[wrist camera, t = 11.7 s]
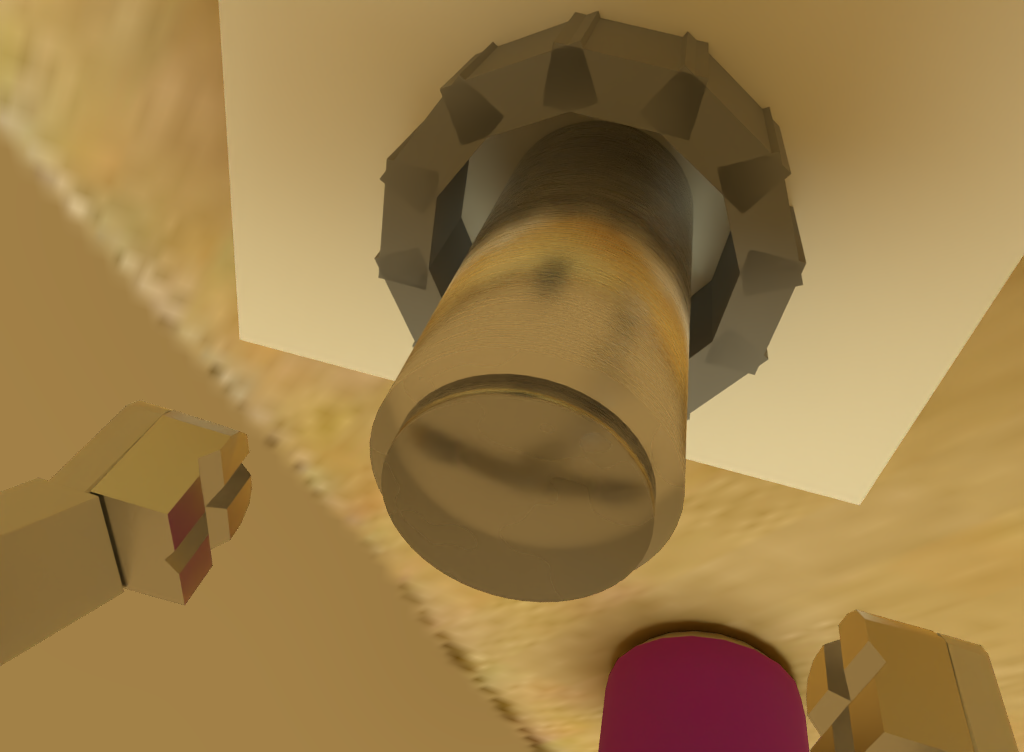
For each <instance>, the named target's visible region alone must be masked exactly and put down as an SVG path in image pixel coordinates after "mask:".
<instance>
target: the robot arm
mask: <svg viewBox="0 0 1024 752" xmlns="http://www.w3.org/2000/svg"><path fill="white" fill-rule="evenodd" d="M248 453H249V447H248V439H247V434H245V433H242V432H240V431H237V430H234V429H231V428H228V427H224V426H222V425H219V424H215V423H212V422H209V421H206V420H203V419H200V418H196V417H193V416H190V415H187V414H184V413H181V412H178V411H174V410H170V409H167V408H164V407H161V406H158V405H154V404H151V403H148V402H145V401H141V400H138V401H136V402H134V403H131V404H128V405H127V406H125V407H124V408H123V409H122V410H121V411H120V412H119V413H118V414H117V415H116V416H115V417H114V418H113V419H112V420H111V421H110V422H109V423H108V424H107V425H106V426H105V427H104V428H103V429H102V430H101V431H99V433H97V434H96V435H95V436H94V437H93V438H92V439H91V440H90V441H89V442H88V443H87V444H86V445H85V446H84V447H83V448H82V449H81V450H80V451H79V452H78V453H77V454H76V455H75V456H74V457H73V458H72V459H71V460H70V461H69V462H68V463H67V464H65V466H63V467H62V468H61V469H60V470H59V471H58V472H57V473H56V474H55V475H54V476H53V477H52V478H51V479H50V480H49V481H48V480H45V479H41V478H36V479H33V480H31V481H28V482H25V483H23V484H20V485H17V486H14V487H12V488H9V489H6V490H4V491H1V492H0V666H1V665H3V664H5V663H6V662H8V661H10V660H11V659H13V658H15V657H16V656H18V655H20V654H21V653H23V652H24V651H26V650H28V649H30V648H31V647H33V646H35V645H36V644H38V643H39V642H41V641H43V640H45V639H46V638H48V637H50V636H51V635H53V634H55V633H56V632H58V631H60V630H61V629H63V628H65V627H66V626H68V625H70V624H71V623H73V622H75V621H76V620H78V619H80V618H81V617H83V616H85V615H86V614H88V613H90V612H91V611H93V610H95V609H97V608H98V607H100V606H102V605H103V604H105V603H107V602H108V601H110V600H112V599H113V598H115V597H116V596H118V595H120V594H122V593H123V592H124V589H123V588H125V589H129V590H132V591H135V592H139V593H143V594H146V595H150V596H153V597H156V598H160V599H164V600H167V601H171V602H174V603H178V604H181V605H185V604H186V603H187V602H188V600H189V599H190V597H191V596H192V594H193V593H194V592H195V590H196V589H197V587H198V586H199V584H200V583H201V581H202V580H203V578H204V577H205V576H206V574H207V573H208V572H209V570H210V569H211V567H212V566H213V565H212V557H211V549H213V548H215V547H217V546H219V545H221V544H223V543H225V542H227V541H229V540H231V538H232V537H233V535H234V534H235V532H236V531H237V529H238V527H239V526H240V524H241V523H242V520H243V518H244V516H245V513H246V511H247V508H248V506H249V503H250V497H251V490H252V481H251V475H250V473H249V472H248V471H247V469H246V468H245V467H244V466H243V464H242V461H243V460H244V459H245V457H246V456H247V455H248ZM838 626H839V634H840V640H837V641H834V642H831V643H828V644H825V645H823V646H822V648H821V649H820V651H819V652H818V654H817V655H816V657H815V658H814V660H813V663H812V666H811V670H810V673H809V676H808V680H807V693H806V701H807V716H808V717H809V719H810V720H811V722H812V723H813V725H814V726H815V728H816V729H817V731H818V732H819V734H820V735H821V737H820V739H819V740H818V741H817V742H816V744H815V745H814V746H813V747H812V748H811V750H810V752H1019V751H1018V748H1017V744H1016V741H1015V738H1014V735H1013V732H1012V728H1011V725H1010V722H1009V719H1008V716H1007V712H1006V709H1005V706H1004V703H1003V700H1002V696H1001V693H1000V690H999V687H998V684H997V680H996V677H995V674H994V671H993V668H992V664H991V661H990V658H989V655H988V653H987V652H986V651H985V650H984V648H983V647H982V646H981V645H978V644H975V643H971V642H968V641H964V640H961V639H957V638H954V637H950V636H947V635H943V634H940V633H935V632H933V631H931V630H928V629H924V628H920V627H917V626H913V625H910V624H906V623H903V622H899V621H895V620H892V619H888V618H885V617H881V616H877V615H874V614H870V613H867V612H863V611H859V610H854V611H852V612H850V613H848V614H847V615H846V616H845V617H844V619H843V620H842V621H841V623H840V624H839V625H838Z"/></svg>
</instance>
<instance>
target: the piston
mask: <svg viewBox="0 0 1024 752" xmlns="http://www.w3.org/2000/svg"><path fill="white" fill-rule="evenodd" d="M692 245H693V199H692V193H691V189H690V186H689V183H688V180H687V178H686V176H685V174H684V171H683V169H682V168H681V166H680V165H679V163H678V162H677V160H676V159H675V157H674V156H673V155H672V154H671V153H670V152H669V151H668V150H667V148H665V147H664V146H663V145H662V144H661V143H659V142H658V141H657V140H656V139H654V138H653V137H651V136H649V135H648V134H646V133H644V132H642V131H640V130H638V129H636V128H634V127H631V126H627V125H623V124H619V123H615V122H609V121H586V122H579V123H575V124H571V125H567V126H565V127H562V128H559V129H557V130H555V131H553V132H551V133H549V134H548V135H546V136H544V137H543V138H542V139H540V140H539V141H538V142H536V143H535V144H534V145H533V146H532V147H531V148H530V149H529V150H528V151H527V152H526V153H525V155H524V156H523V157H522V158H521V160H520V161H519V163H518V165H517V166H516V168H515V170H514V172H513V173H512V175H511V177H510V179H509V180H508V182H507V184H506V186H505V187H504V189H503V191H502V193H501V194H500V196H499V198H498V200H497V202H496V203H495V205H494V207H493V209H492V210H491V212H490V214H489V216H488V217H487V219H486V221H485V223H484V225H483V226H482V228H481V230H480V232H479V233H478V235H477V237H476V239H475V240H474V242H473V244H472V246H471V247H470V249H469V251H468V253H467V255H466V256H465V258H464V260H463V262H462V263H461V265H460V267H459V269H458V270H457V272H456V274H455V276H454V278H453V279H452V281H451V283H450V285H449V286H448V288H447V290H446V292H445V293H444V295H443V297H442V299H441V300H440V302H439V304H438V306H437V308H436V309H435V311H434V313H433V315H432V316H431V318H430V320H429V322H428V323H427V325H426V327H425V329H424V331H423V332H422V334H421V336H420V338H419V339H418V341H417V343H416V345H415V346H414V348H413V350H412V352H411V353H410V355H409V357H408V359H407V361H406V362H405V364H404V366H403V368H402V369H401V371H400V373H399V375H398V376H397V378H396V380H395V382H394V384H393V385H392V387H391V389H390V391H389V392H388V394H387V396H386V398H385V399H384V401H383V403H382V405H381V406H380V408H379V410H378V412H377V415H376V417H375V420H374V423H373V426H372V431H371V437H370V458H371V464H372V470H373V473H374V476H375V479H376V482H377V485H378V487H379V489H380V491H381V493H382V495H383V499H384V502H385V505H386V508H387V511H388V514H389V516H390V518H391V520H392V522H393V524H394V525H395V527H396V528H397V530H398V531H399V533H400V534H401V536H402V537H403V538H404V539H405V541H406V542H407V543H408V544H409V545H410V546H411V548H413V549H414V550H415V551H416V552H417V553H418V554H419V555H420V556H421V557H422V558H423V559H425V560H426V561H427V562H428V563H430V564H431V565H432V566H434V567H435V568H436V569H438V570H440V571H441V572H443V573H444V574H446V575H447V576H449V577H451V578H453V579H455V580H457V581H459V582H461V583H463V584H465V585H467V586H470V587H472V588H474V589H477V590H480V591H483V592H486V593H489V594H492V595H496V596H500V597H504V598H508V599H515V600H521V601H532V602H559V601H567V600H574V599H579V598H583V597H587V596H590V595H593V594H596V593H599V592H602V591H604V590H606V589H608V588H610V587H612V586H614V585H615V584H617V583H618V582H620V581H621V580H623V579H624V578H626V577H627V576H628V575H629V574H630V573H631V572H632V571H633V570H635V569H637V568H638V567H640V566H641V565H643V564H644V563H646V562H647V561H649V560H650V559H651V558H652V557H653V556H654V555H655V554H656V553H658V552H659V551H660V550H661V549H662V547H663V546H664V545H665V544H666V542H667V541H668V540H669V539H670V537H671V535H672V533H673V532H674V530H675V528H676V526H677V524H678V521H679V518H680V516H681V513H682V509H683V502H684V495H685V464H686V432H687V401H688V370H689V339H690V308H691V276H692Z"/></svg>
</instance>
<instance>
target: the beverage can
mask: <svg viewBox="0 0 1024 752" xmlns="http://www.w3.org/2000/svg"><path fill="white" fill-rule="evenodd" d="M598 752H809V744H808V736H807V727H806V718H805V713H804V709H803V705H802V701H801V697H800V694H799V691H798V688H797V686H796V683H795V681H794V680H793V678H792V677H791V676H790V675H789V674H788V673H787V672H786V671H785V670H784V669H783V668H782V667H781V666H780V664H778V663H777V662H775V661H773V660H772V659H770V658H768V657H767V656H766V655H765V654H764V653H762V652H760V651H759V650H757V649H755V648H754V647H752V646H750V645H749V644H747V643H745V642H743V641H741V640H737V639H734V638H731V637H728V636H725V635H722V634H718V633H709V632H701V631H684V632H671V633H667V634H664V635H661V636H658V637H654V638H651V639H649V640H647V641H646V642H644V643H643V644H640V645H637V646H635V647H634V648H633V649H631V650H630V651H628V652H627V653H625V654H624V655H623V656H621V657H620V658H618V660H617V662H616V663H615V665H614V667H613V669H612V670H611V672H610V674H609V678H608V682H607V686H606V691H605V700H604V708H603V717H602V725H601V734H600V743H599V751H598Z"/></svg>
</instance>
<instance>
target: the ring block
mask: <svg viewBox="0 0 1024 752" xmlns="http://www.w3.org/2000/svg"><path fill="white" fill-rule="evenodd" d="M218 3H219V19H220V34H221V50H222V66H223V82H224V98H225V114H226V130H227V145H228V161H229V177H230V193H231V209H232V225H233V241H234V257H235V272H236V288H237V304H238V320H239V336H240V340H243V341H247V342H251V343H254V344H258V345H262V346H266V347H269V348H273V349H277V350H281V351H284V352H288V353H292V354H295V355H299V356H303V357H307V358H310V359H314V360H318V361H322V362H325V363H329V364H333V365H337V366H340V367H344V368H348V369H352V370H355V371H359V372H363V373H367V374H370V375H374V376H378V377H382V378H385V379H389V380H393V381H395V380H396V378H397V376H398V375H399V373H400V371H401V369H402V368H403V366H404V364H405V362H406V361H407V359H408V357H409V355H410V353H411V352H412V350H413V348H414V346H415V345H416V343H417V341H418V339H419V338H420V336H421V334H422V332H423V331H424V329H425V327H426V325H427V323H428V322H429V320H430V318H431V316H432V315H433V313H434V311H435V309H436V308H437V306H438V304H439V302H440V300H441V299H442V297H443V295H444V293H445V292H446V290H447V288H448V286H449V285H450V283H451V281H452V279H453V278H454V276H455V274H456V272H457V270H458V269H459V267H460V265H461V263H462V262H463V260H464V258H465V256H466V255H467V253H468V251H469V249H470V247H471V246H472V244H473V242H474V240H475V239H476V237H477V235H478V233H479V232H480V230H481V228H482V226H483V225H484V223H485V221H486V219H487V217H488V216H489V214H490V212H491V210H492V209H493V207H494V205H495V203H496V202H497V200H498V198H499V196H500V194H501V193H502V191H503V189H504V187H505V186H506V184H507V182H508V180H509V179H510V177H511V175H512V173H513V172H514V170H515V168H516V166H517V165H518V163H519V161H520V160H521V158H522V157H523V156H524V155H525V153H526V152H527V151H528V150H529V149H530V148H531V147H532V146H533V145H534V144H535V143H536V142H538V141H539V140H540V139H542V138H543V137H544V136H546V135H548V134H549V133H551V132H553V131H555V130H557V129H559V128H562V127H565V126H567V125H571V124H575V123H579V122H586V121H609V122H615V123H619V124H623V125H627V126H631V127H634V128H636V129H638V130H640V131H642V132H644V133H646V134H648V135H649V136H651V137H653V138H654V139H656V140H657V141H658V142H659V143H661V144H662V145H663V146H664V147H665V148H667V150H668V151H669V152H670V153H671V154H672V155H673V156H674V157H675V159H676V160H677V162H678V163H679V165H680V166H681V168H682V169H683V171H684V174H685V176H686V178H687V180H688V183H689V186H690V189H691V193H692V199H693V245H692V276H691V308H690V339H689V370H688V401H687V432H686V459H688V460H692V461H696V462H700V463H703V464H707V465H711V466H715V467H718V468H722V469H726V470H730V471H733V472H737V473H741V474H745V475H748V476H752V477H756V478H759V479H763V480H767V481H771V482H774V483H778V484H782V485H786V486H789V487H793V488H797V489H801V490H804V491H808V492H812V493H816V494H819V495H823V496H827V497H831V498H834V499H838V500H842V501H846V502H849V503H853V504H857V505H860V504H861V502H862V501H863V499H864V498H865V496H866V495H867V493H868V492H869V490H870V489H871V487H872V486H873V484H874V483H875V481H876V480H877V478H878V476H879V475H880V473H881V472H882V470H883V469H884V467H885V466H886V464H887V463H888V461H889V460H890V458H891V457H892V455H893V454H894V452H895V451H896V449H897V447H898V446H899V444H900V443H901V441H902V440H903V438H904V437H905V435H906V434H907V432H908V431H909V429H910V428H911V426H912V425H913V423H914V422H915V420H916V418H917V417H918V415H919V414H920V412H921V411H922V409H923V408H924V406H925V405H926V403H927V402H928V400H929V399H930V397H931V396H932V394H933V393H934V391H935V389H936V388H937V386H938V385H939V383H940V382H941V380H942V379H943V377H944V376H945V374H946V373H947V371H948V370H949V368H950V367H951V365H952V364H953V362H954V360H955V359H956V357H957V356H958V354H959V353H960V351H961V350H962V348H963V347H964V345H965V344H966V342H967V341H968V339H969V338H970V336H971V335H972V333H973V331H974V330H975V328H976V327H977V325H978V324H979V322H980V321H981V319H982V318H983V316H984V315H985V313H986V312H987V310H988V309H989V307H990V306H991V304H992V302H993V301H994V299H995V298H996V296H997V295H998V293H999V292H1000V290H1001V289H1002V287H1003V286H1004V284H1005V283H1006V281H1007V280H1008V278H1009V277H1010V275H1011V273H1012V272H1013V270H1014V269H1015V267H1016V266H1017V264H1018V263H1019V261H1020V260H1021V258H1022V257H1023V255H1024V0H218Z"/></svg>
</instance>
